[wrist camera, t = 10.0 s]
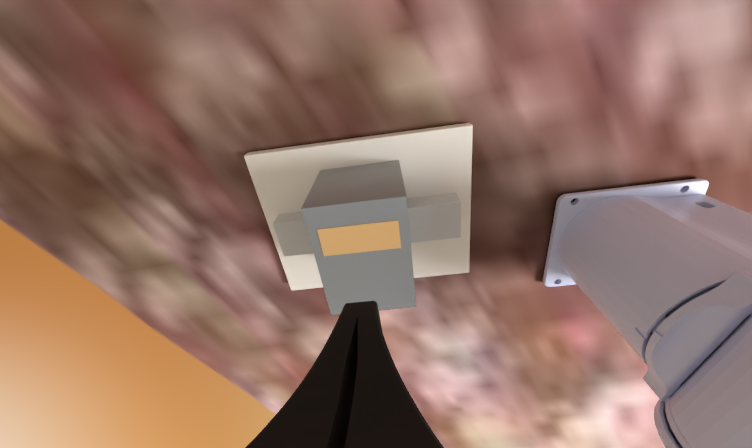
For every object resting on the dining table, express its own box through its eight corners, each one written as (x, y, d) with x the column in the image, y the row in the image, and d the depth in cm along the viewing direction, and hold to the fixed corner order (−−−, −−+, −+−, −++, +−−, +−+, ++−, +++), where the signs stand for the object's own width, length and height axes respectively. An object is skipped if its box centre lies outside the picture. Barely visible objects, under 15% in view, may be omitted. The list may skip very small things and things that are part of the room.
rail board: (469, 122, 18) (479, 130, 16) (466, 266, 24) (474, 284, 22) (248, 152, 19) (234, 162, 17) (293, 283, 25) (286, 303, 23)
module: (398, 160, 19) (406, 196, 14) (407, 252, 22) (416, 307, 17) (320, 170, 19) (300, 209, 14) (341, 259, 22) (331, 315, 18)
